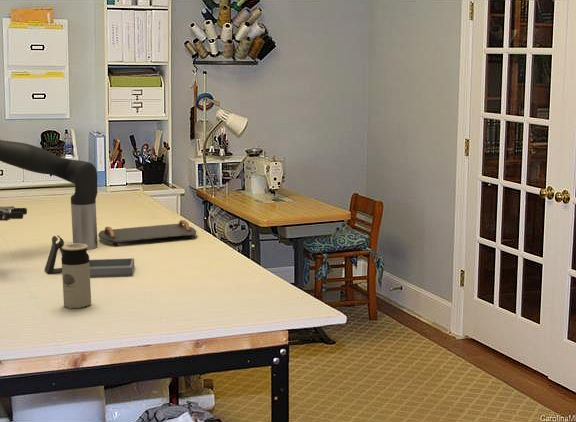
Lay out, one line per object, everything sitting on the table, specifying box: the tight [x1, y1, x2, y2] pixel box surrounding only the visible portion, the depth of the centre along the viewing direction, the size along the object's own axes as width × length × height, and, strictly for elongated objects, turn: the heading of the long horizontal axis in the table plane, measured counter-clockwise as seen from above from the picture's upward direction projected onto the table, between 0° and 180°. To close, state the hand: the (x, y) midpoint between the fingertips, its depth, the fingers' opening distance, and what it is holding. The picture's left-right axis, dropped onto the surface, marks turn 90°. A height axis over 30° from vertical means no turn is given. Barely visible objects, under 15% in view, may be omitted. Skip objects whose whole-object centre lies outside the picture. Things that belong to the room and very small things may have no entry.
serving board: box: [97, 219, 197, 247], centre depth 371 cm, size 39×23×6 cm, turn 114°
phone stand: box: [44, 234, 65, 275], centre depth 316 cm, size 9×6×12 cm, turn 114°
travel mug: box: [61, 243, 92, 309], centre depth 274 cm, size 8×8×18 cm
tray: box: [89, 257, 135, 279], centre depth 315 cm, size 14×17×3 cm
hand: (24, 213), depth 312 cm, fingers open, 8 cm apart
